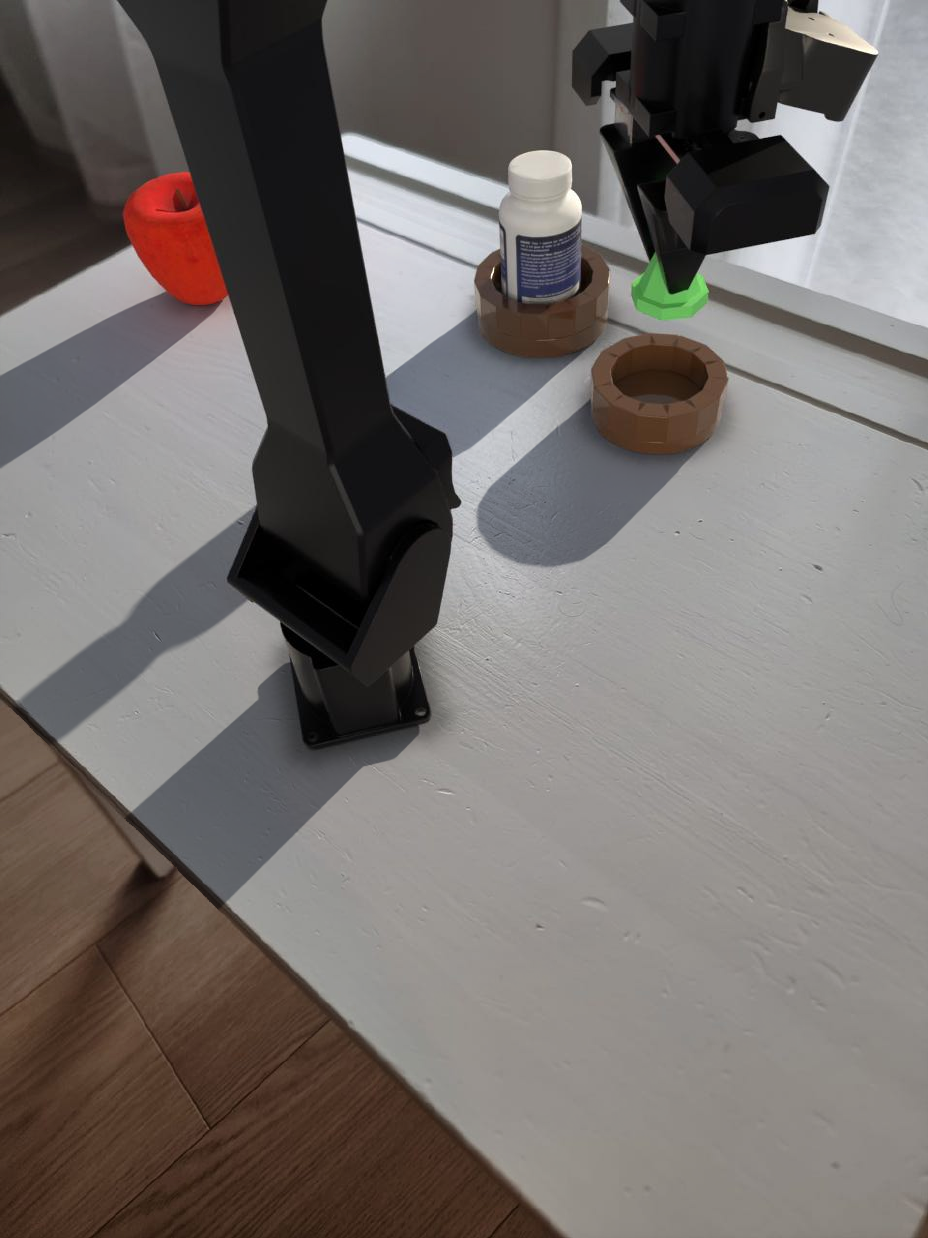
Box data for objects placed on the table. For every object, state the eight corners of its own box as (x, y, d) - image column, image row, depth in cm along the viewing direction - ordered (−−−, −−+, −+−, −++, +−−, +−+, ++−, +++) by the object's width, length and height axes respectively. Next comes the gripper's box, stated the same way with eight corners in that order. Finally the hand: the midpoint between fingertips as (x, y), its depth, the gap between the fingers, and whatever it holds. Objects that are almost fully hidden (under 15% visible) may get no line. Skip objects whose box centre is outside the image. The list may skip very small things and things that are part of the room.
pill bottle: (596, 299, 69) (601, 161, 62) (542, 334, 67) (541, 195, 60) (540, 271, 72) (539, 135, 64) (486, 303, 70) (479, 167, 62)
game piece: (723, 305, 56) (739, 203, 51) (658, 329, 55) (668, 227, 50) (678, 268, 58) (689, 168, 53) (615, 292, 57) (621, 191, 52)
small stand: (742, 438, 62) (750, 400, 59) (613, 466, 61) (615, 428, 58) (693, 361, 67) (698, 322, 64) (573, 386, 66) (573, 348, 64)
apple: (287, 267, 77) (265, 169, 71) (227, 332, 72) (198, 232, 66) (191, 249, 80) (162, 152, 74) (127, 310, 75) (90, 212, 69)
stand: (625, 343, 68) (628, 298, 66) (496, 369, 68) (493, 325, 65) (584, 272, 74) (585, 228, 71) (464, 295, 73) (461, 252, 71)
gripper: (994, 8, 38) (887, 349, 50) (785, -128, 50) (739, 175, 62) (719, 56, 37) (677, 392, 49) (571, -95, 49) (566, 207, 61)
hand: (669, 280), depth 55 cm, fingers closed on game piece, 2 cm apart
